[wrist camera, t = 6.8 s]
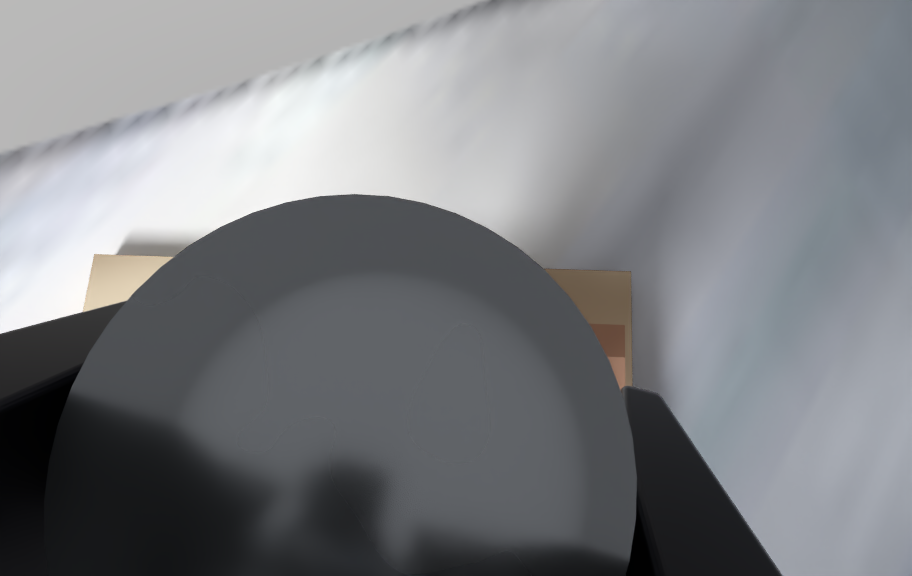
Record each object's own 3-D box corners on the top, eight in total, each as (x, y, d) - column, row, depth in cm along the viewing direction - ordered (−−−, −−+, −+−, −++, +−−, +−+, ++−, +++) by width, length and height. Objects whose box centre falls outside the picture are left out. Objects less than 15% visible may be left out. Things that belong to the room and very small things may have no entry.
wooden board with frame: (632, 757, 17) (653, 801, 15) (17, 706, 19) (-59, 738, 16) (627, 277, 21) (644, 247, 18) (105, 260, 22) (53, 230, 19)
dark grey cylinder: (499, 658, 13) (490, 955, 4) (284, 549, 14) (-73, 629, 5) (589, 428, 14) (721, 317, 5) (384, 339, 15) (223, 121, 6)
